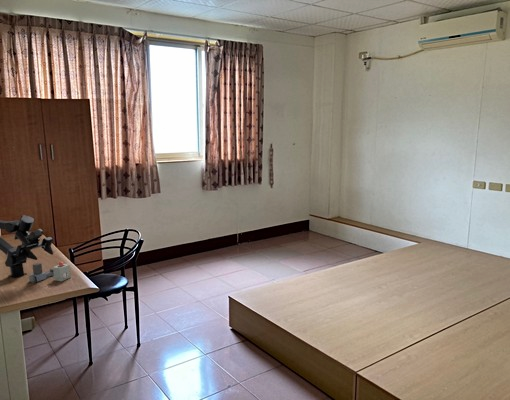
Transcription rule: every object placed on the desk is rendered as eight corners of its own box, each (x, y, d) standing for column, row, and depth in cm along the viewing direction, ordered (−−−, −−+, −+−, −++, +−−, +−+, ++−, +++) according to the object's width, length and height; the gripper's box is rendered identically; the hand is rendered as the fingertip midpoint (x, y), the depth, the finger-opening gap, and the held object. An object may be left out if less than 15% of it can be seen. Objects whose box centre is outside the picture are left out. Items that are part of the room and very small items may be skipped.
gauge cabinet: (54, 280, 223) (52, 267, 222) (64, 276, 228) (62, 263, 227) (61, 281, 220) (60, 268, 219) (71, 277, 226) (70, 264, 224)
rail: (29, 281, 221) (29, 276, 220) (51, 273, 232) (51, 268, 232) (33, 282, 219) (33, 277, 219) (55, 274, 231) (55, 269, 230)
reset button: (58, 269, 223) (57, 262, 222) (61, 268, 225) (61, 261, 224) (61, 269, 222) (60, 263, 221) (64, 268, 224) (63, 261, 223)
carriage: (30, 280, 223) (29, 265, 221) (39, 276, 227) (37, 262, 226) (37, 281, 220) (36, 266, 219) (46, 278, 225) (44, 263, 223)
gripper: (12, 229, 211) (32, 249, 207) (46, 222, 228) (65, 240, 223) (7, 247, 216) (26, 266, 211) (40, 238, 232) (58, 256, 228)
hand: (45, 256), depth 218 cm, fingers open, 9 cm apart
